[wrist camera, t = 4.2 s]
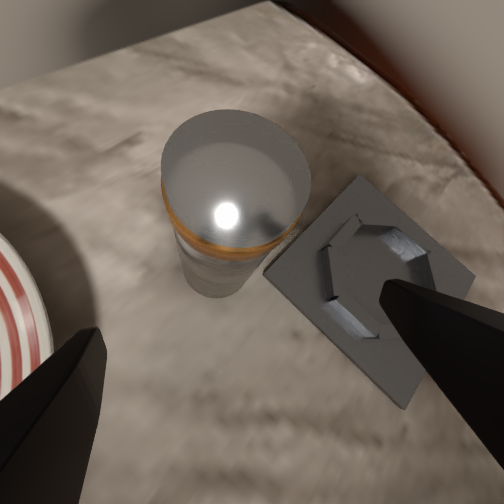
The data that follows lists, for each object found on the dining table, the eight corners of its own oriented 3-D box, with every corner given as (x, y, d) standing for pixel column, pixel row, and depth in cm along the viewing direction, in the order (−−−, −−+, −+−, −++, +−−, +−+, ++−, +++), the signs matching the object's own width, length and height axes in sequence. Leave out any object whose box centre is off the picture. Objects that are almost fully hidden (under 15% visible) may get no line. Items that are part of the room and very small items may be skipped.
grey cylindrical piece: (263, 266, 20) (341, 178, 9) (216, 314, 19) (242, 277, 7) (217, 221, 21) (238, 85, 10) (166, 264, 19) (120, 157, 8)
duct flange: (470, 277, 24) (489, 273, 22) (400, 408, 19) (418, 414, 17) (357, 176, 25) (367, 165, 24) (262, 274, 20) (267, 269, 19)
